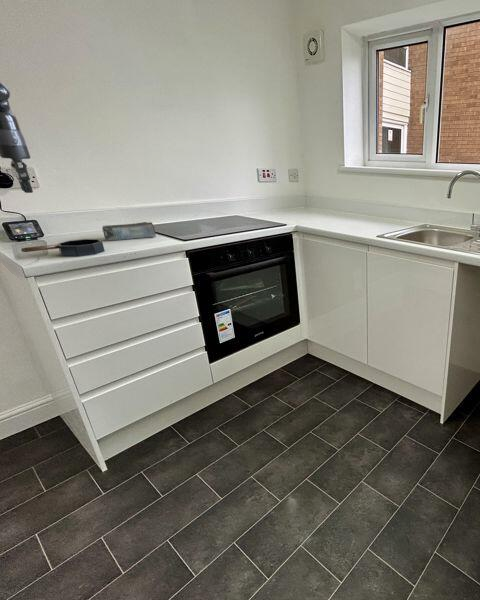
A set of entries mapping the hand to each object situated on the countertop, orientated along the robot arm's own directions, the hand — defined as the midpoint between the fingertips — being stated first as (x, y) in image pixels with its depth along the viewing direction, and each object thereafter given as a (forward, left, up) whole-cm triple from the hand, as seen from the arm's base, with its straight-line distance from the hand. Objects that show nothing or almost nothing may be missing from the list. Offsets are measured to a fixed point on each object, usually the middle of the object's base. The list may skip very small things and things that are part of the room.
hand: (27, 191), depth 129 cm
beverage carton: (+30, +8, -22) cm, 38 cm away
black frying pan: (+4, -12, -22) cm, 26 cm away
